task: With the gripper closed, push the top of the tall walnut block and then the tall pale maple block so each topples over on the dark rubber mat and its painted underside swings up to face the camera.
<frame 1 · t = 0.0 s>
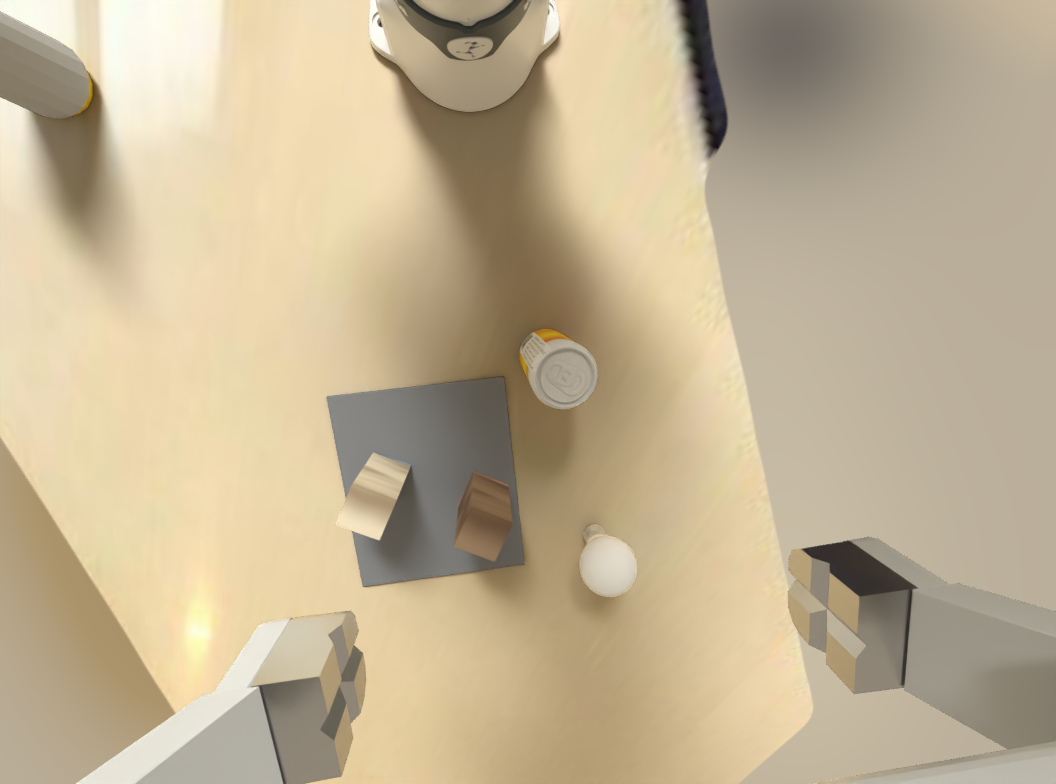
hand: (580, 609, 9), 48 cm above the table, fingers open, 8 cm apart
maple block: (385, 474, 58), resting on rubber mat
beer can: (544, 354, 57), on the table
rubber mat: (431, 484, 59), on the table
soap bottle: (64, 85, 47), on the table
lightbulb: (592, 530, 62), on the table
walnut block: (483, 494, 59), resting on rubber mat
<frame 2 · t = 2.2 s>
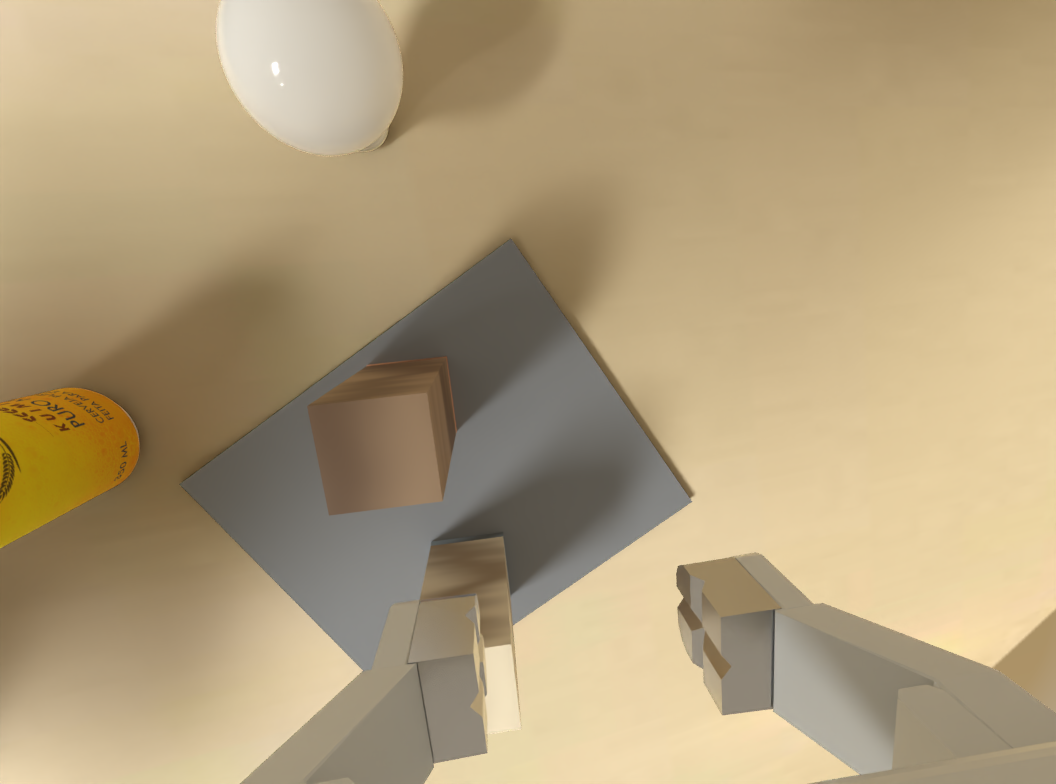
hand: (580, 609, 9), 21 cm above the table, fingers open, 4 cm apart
maple block: (471, 569, 31), resting on rubber mat
beer can: (95, 435, 28), on the table
rubber mat: (449, 490, 31), on the table
lightbulb: (366, 129, 26), on the table
walnut block: (413, 398, 29), resting on rubber mat
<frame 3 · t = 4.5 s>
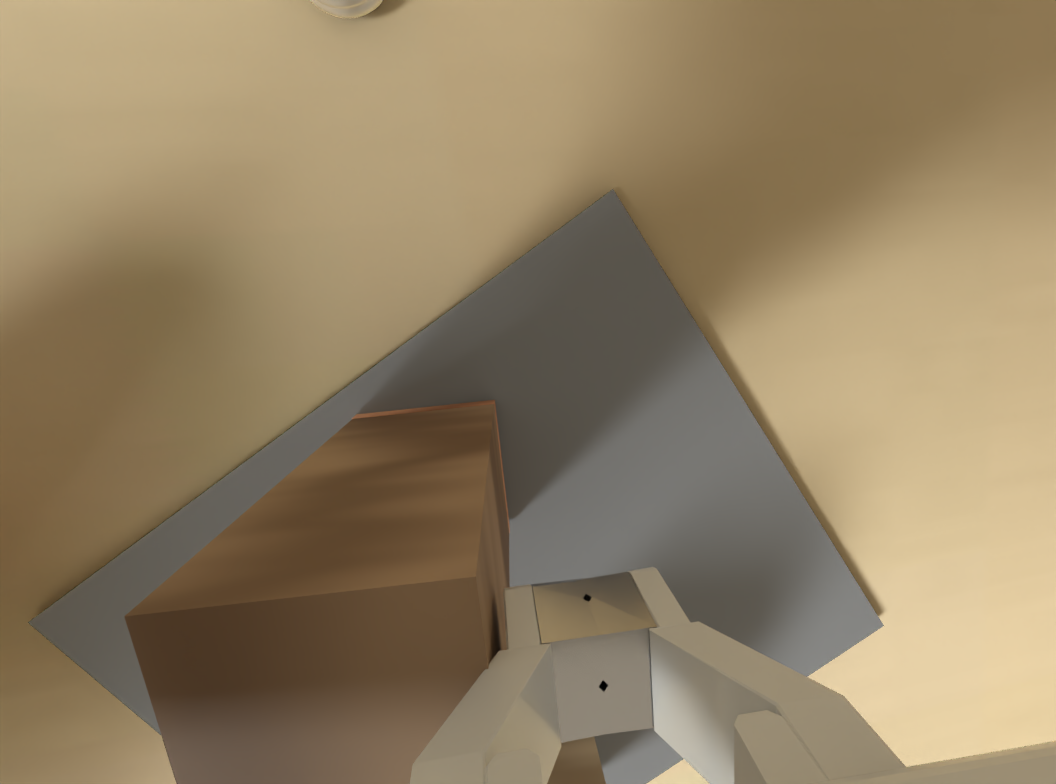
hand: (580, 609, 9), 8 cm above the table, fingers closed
maple block: (528, 739, 19), resting on rubber mat
rubber mat: (493, 617, 18), on the table
walnut block: (435, 472, 17), point 1 cm above the table, touching gripper, rubber mat
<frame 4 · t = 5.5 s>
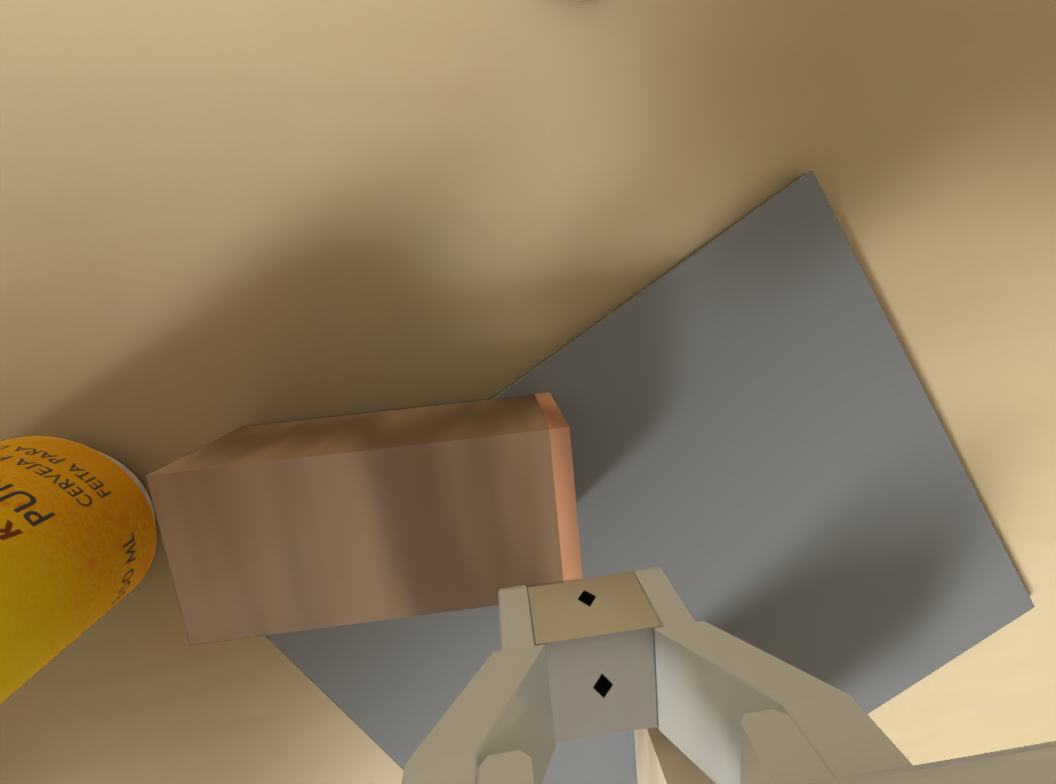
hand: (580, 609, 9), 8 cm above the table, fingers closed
maple block: (685, 715, 20), resting on rubber mat
beer can: (80, 513, 17), on the table
rubber mat: (658, 594, 19), on the table
walnut block: (564, 481, 15), point 3 cm above the table, tilted 91°, touching rubber mat
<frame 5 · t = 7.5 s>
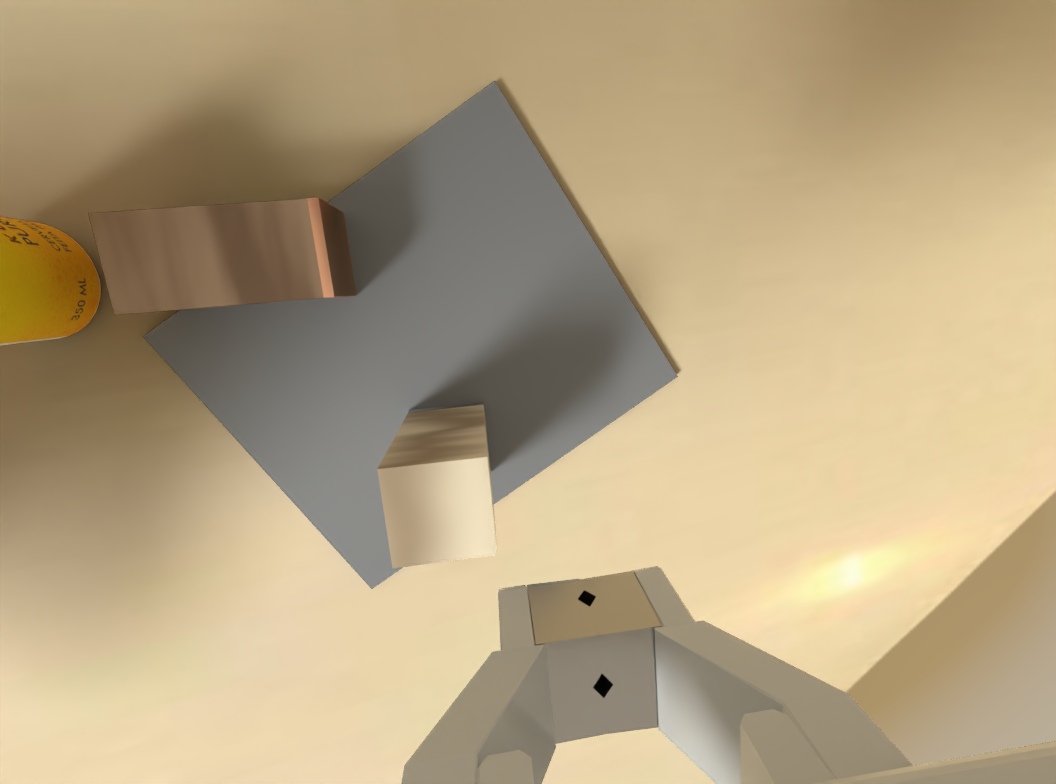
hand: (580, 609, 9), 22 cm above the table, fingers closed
maple block: (450, 441, 30), resting on rubber mat
beer can: (53, 282, 27), on the table
rubber mat: (428, 356, 30), on the table
walnut block: (339, 251, 25), point 3 cm above the table, tilted 90°, touching rubber mat
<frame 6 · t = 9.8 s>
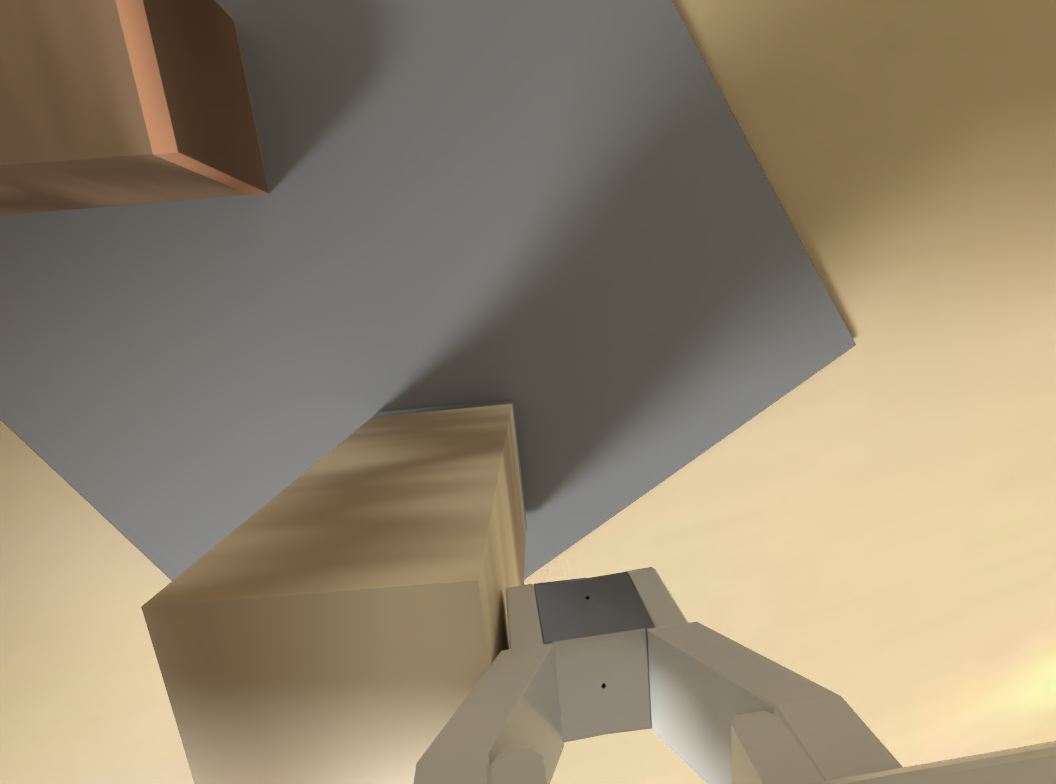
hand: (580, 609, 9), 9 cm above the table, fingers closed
maple block: (453, 470, 17), point 1 cm above the table, tilted 7°, touching gripper, rubber mat
rubber mat: (410, 313, 16), on the table
walnut block: (210, 77, 12), point 3 cm above the table, tilted 90°, touching rubber mat
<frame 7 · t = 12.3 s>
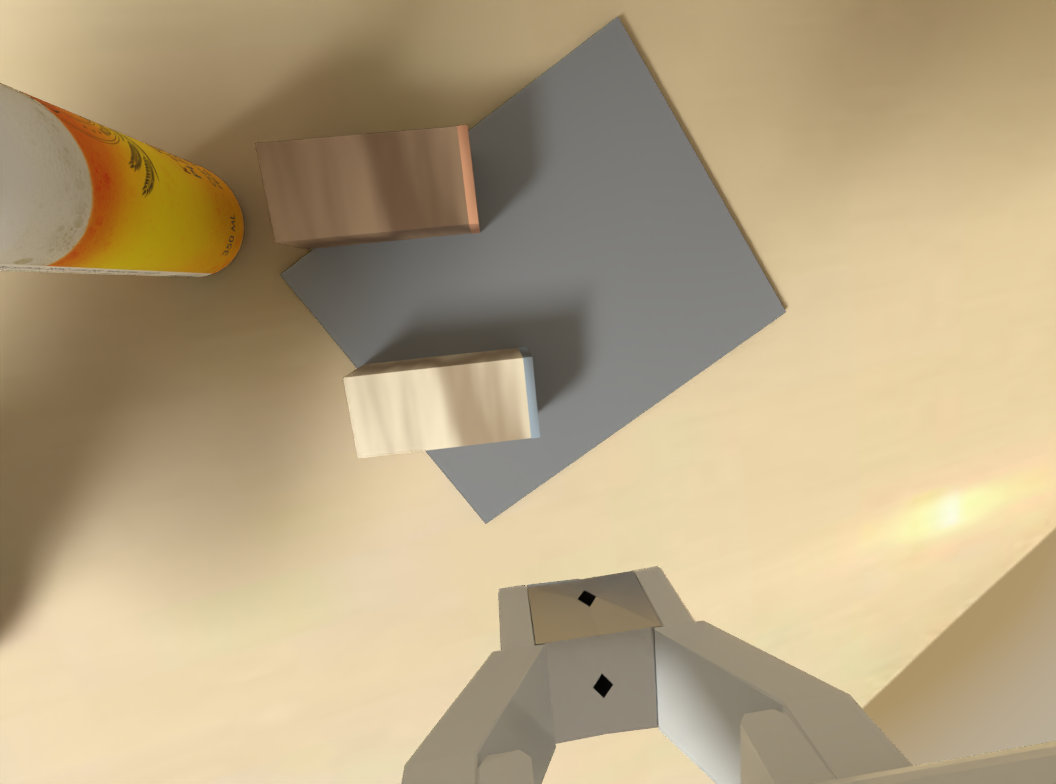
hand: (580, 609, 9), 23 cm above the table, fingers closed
maple block: (532, 389, 29), point 3 cm above the table, tilted 90°, touching rubber mat
beer can: (197, 223, 28), on the table
rubber mat: (544, 294, 30), on the table
walnut block: (474, 184, 26), point 3 cm above the table, tilted 90°, touching rubber mat
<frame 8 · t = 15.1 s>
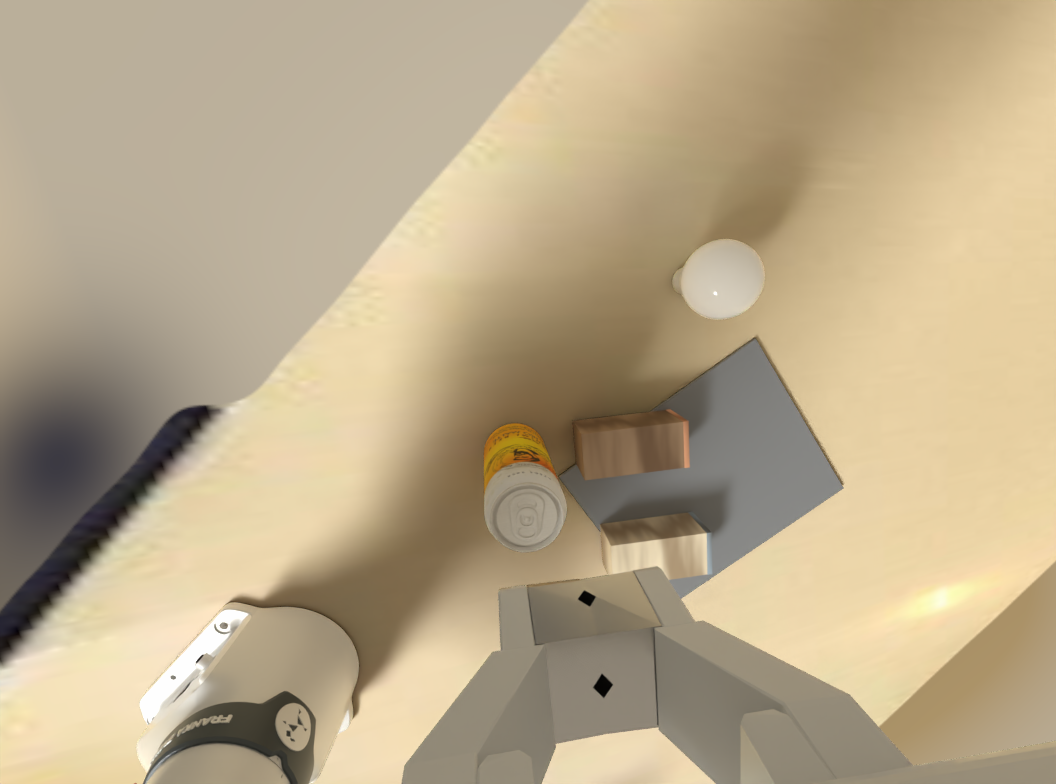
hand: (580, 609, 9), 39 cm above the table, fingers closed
maple block: (702, 541, 50), point 3 cm above the table, tilted 90°, touching rubber mat
beer can: (514, 449, 50), on the table
rubber mat: (704, 481, 52), on the table
lightbulb: (682, 281, 48), on the table
walnut block: (679, 437, 48), point 3 cm above the table, tilted 90°, touching rubber mat
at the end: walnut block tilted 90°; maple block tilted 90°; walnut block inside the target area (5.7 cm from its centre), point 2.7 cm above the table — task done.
